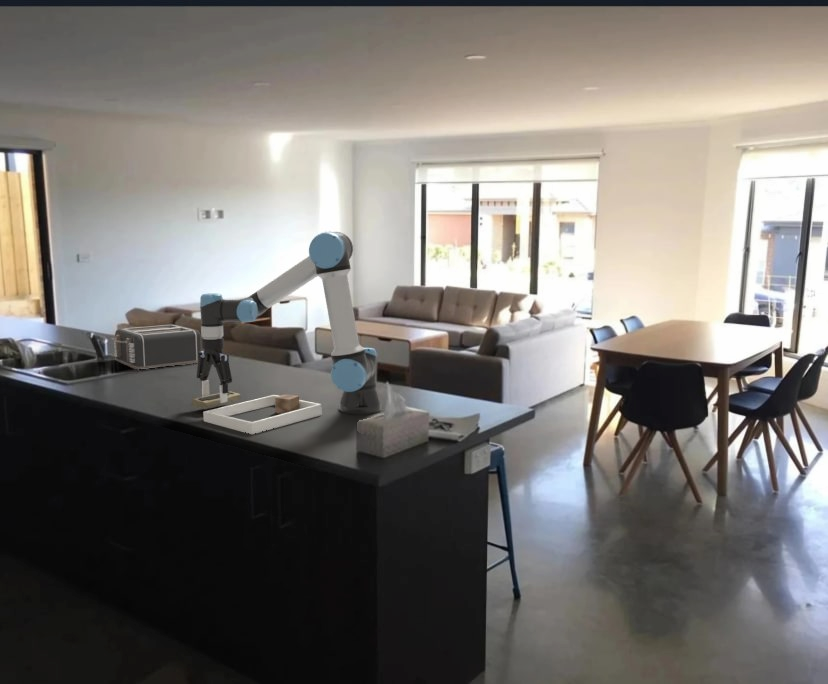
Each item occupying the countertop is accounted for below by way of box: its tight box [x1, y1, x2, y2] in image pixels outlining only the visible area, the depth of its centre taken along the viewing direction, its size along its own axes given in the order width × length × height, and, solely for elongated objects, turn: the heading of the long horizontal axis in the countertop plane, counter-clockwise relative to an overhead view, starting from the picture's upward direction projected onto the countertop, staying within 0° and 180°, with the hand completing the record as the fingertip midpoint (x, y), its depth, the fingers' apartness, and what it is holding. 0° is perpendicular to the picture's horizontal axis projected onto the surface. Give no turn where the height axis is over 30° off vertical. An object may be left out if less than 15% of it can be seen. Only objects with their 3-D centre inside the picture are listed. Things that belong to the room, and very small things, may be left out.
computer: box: [190, 390, 242, 409], centre depth 261 cm, size 16×8×3 cm, turn 143°
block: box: [274, 393, 300, 415], centre depth 260 cm, size 6×6×6 cm
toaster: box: [110, 324, 202, 370], centre depth 347 cm, size 30×36×17 cm
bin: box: [202, 394, 323, 435], centre depth 252 cm, size 24×32×4 cm
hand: (214, 400), depth 260 cm, fingers closed on computer, 9 cm apart
